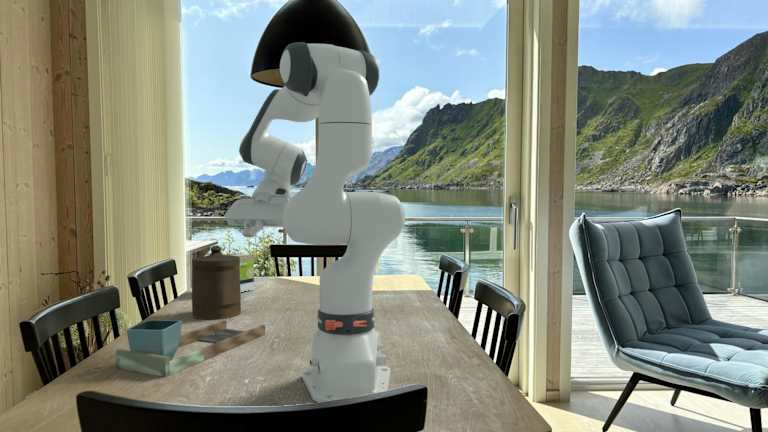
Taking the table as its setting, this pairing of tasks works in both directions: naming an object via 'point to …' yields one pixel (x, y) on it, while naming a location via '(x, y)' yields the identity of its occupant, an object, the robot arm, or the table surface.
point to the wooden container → (216, 285)
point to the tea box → (246, 271)
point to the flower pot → (155, 337)
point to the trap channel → (165, 367)
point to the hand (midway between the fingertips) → (247, 235)
